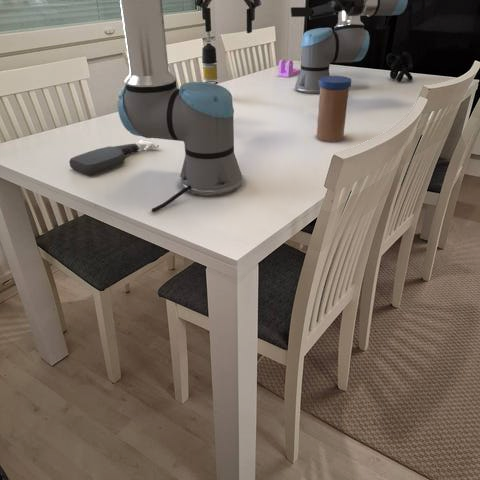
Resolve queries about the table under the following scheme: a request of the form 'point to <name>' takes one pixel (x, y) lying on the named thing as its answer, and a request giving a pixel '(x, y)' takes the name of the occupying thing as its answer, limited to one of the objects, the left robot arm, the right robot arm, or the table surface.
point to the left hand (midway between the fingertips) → (228, 32)
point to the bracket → (287, 69)
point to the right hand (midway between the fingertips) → (297, 3)
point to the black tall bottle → (209, 61)
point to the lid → (335, 82)
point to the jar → (332, 114)
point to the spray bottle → (106, 157)
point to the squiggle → (399, 66)
